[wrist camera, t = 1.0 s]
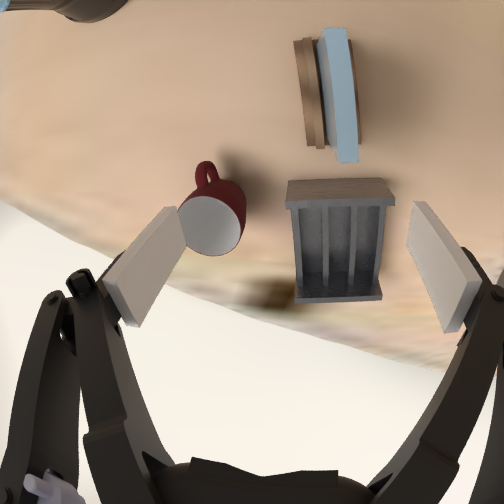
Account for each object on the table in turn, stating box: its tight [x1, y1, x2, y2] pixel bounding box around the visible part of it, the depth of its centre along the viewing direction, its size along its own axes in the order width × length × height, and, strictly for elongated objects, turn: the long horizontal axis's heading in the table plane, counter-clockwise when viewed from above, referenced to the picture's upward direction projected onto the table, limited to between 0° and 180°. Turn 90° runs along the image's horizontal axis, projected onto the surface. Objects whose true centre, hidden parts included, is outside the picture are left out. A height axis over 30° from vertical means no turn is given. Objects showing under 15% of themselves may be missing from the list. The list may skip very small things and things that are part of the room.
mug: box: [177, 161, 246, 256], centre depth 36 cm, size 10×8×10 cm
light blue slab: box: [316, 28, 359, 163], centre depth 24 cm, size 12×2×12 cm, turn 9°
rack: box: [286, 178, 395, 303], centre depth 38 cm, size 16×13×7 cm
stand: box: [293, 37, 361, 149], centre depth 29 cm, size 14×7×3 cm, turn 9°
